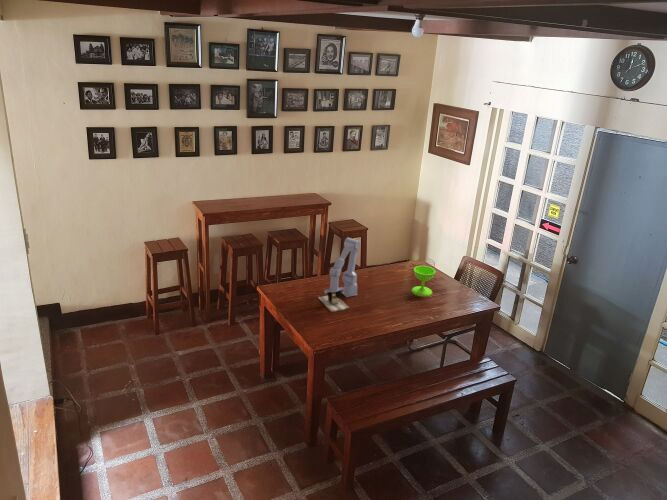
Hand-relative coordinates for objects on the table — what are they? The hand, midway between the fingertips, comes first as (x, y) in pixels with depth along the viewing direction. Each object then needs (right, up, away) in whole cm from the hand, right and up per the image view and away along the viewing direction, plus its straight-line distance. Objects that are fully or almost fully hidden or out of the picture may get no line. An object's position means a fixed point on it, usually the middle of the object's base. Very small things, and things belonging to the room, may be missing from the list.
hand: (333, 300), depth 377 cm
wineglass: (+68, +4, +25) cm, 72 cm away
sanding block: (0, -1, +1) cm, 1 cm away
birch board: (0, -2, +1) cm, 2 cm away
